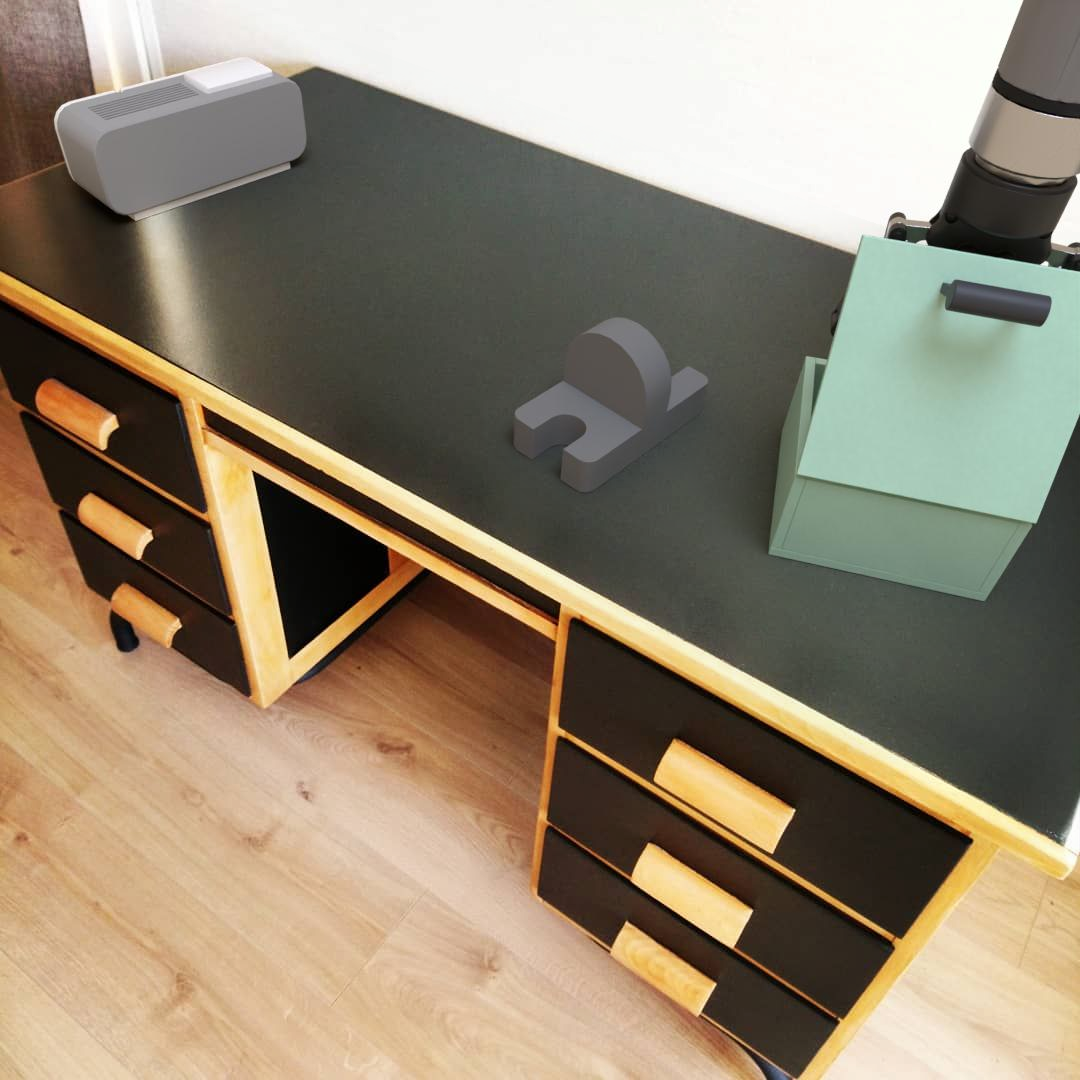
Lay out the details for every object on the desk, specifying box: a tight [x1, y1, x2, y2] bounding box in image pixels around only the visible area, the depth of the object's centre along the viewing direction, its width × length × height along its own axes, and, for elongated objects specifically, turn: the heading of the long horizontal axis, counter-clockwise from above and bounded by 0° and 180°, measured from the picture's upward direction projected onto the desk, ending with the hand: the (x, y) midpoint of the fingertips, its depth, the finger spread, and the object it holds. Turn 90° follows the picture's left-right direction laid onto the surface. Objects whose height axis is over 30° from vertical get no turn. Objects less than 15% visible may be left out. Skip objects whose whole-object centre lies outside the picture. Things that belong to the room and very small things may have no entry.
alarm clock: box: [53, 56, 308, 222], centre depth 113 cm, size 27×9×12 cm, turn 136°
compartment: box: [767, 355, 1033, 602], centre depth 80 cm, size 17×18×9 cm
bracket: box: [512, 316, 709, 493], centre depth 86 cm, size 10×18×11 cm, turn 137°
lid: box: [797, 234, 1080, 524], centre depth 65 cm, size 18×18×6 cm
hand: (907, 420), depth 79 cm, fingers closed on small box, 10 cm apart
